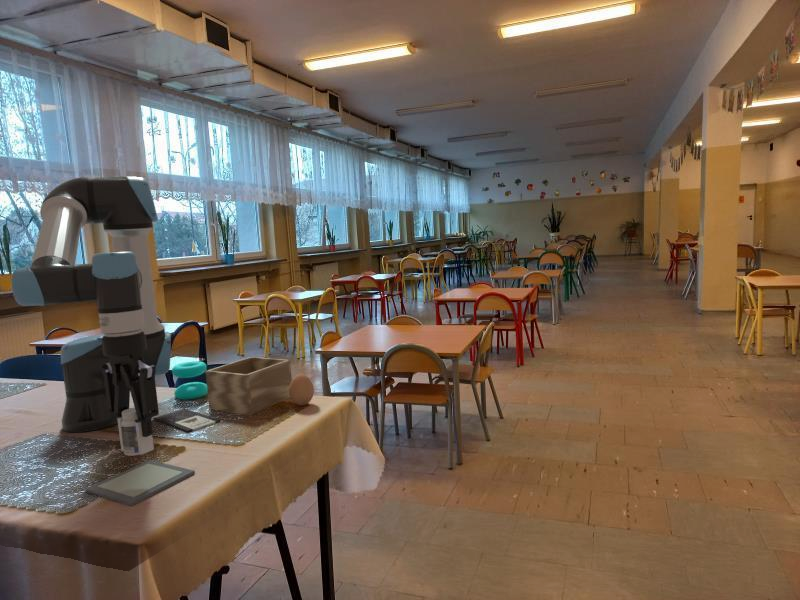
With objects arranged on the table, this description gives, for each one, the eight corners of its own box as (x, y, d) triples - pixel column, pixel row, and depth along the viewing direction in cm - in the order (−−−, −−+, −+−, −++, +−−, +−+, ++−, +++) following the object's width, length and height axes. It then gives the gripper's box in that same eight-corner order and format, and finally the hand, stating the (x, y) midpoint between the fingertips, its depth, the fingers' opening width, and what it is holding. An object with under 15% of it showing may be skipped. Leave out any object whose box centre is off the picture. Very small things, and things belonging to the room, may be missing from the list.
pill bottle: (140, 456, 102) (135, 414, 101) (118, 455, 103) (113, 413, 102) (156, 446, 106) (151, 406, 105) (135, 446, 107) (130, 405, 106)
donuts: (164, 368, 160) (184, 360, 169) (167, 400, 161) (188, 390, 171) (193, 368, 157) (212, 360, 167) (197, 401, 159) (215, 391, 168)
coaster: (85, 491, 103) (85, 488, 103) (149, 462, 115) (149, 459, 115) (131, 505, 96) (131, 502, 96) (194, 473, 108) (194, 470, 108)
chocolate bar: (184, 408, 150) (220, 419, 139) (185, 411, 150) (220, 423, 139) (153, 418, 143) (187, 430, 132) (153, 421, 144) (187, 434, 132)
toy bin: (209, 409, 150) (205, 371, 149) (254, 391, 165) (250, 356, 164) (250, 415, 142) (246, 375, 141) (293, 396, 158) (290, 359, 156)
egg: (303, 410, 144) (300, 378, 143) (285, 407, 148) (282, 376, 147) (319, 403, 150) (317, 372, 149) (301, 400, 153) (299, 370, 152)
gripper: (76, 334, 103) (91, 450, 105) (135, 338, 94) (150, 464, 97) (113, 328, 109) (126, 437, 112) (171, 330, 101) (184, 449, 103)
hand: (137, 449), depth 104 cm, fingers closed on pill bottle, 5 cm apart
